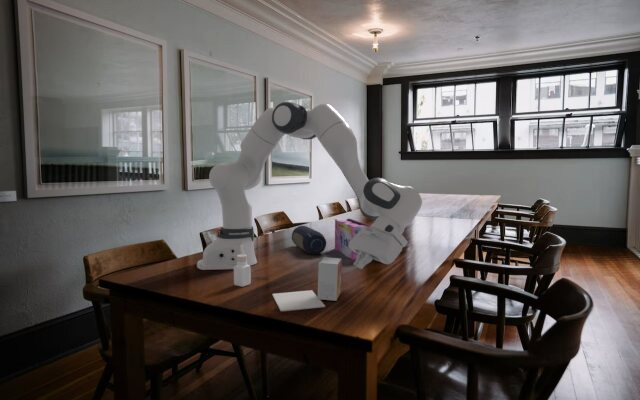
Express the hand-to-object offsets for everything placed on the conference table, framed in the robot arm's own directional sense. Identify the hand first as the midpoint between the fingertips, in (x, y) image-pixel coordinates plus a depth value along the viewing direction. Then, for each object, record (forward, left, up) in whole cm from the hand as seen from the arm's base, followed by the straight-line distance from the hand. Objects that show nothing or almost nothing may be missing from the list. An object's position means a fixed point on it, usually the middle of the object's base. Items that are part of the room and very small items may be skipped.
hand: (357, 266), depth 119 cm
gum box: (+17, +50, -8) cm, 53 cm away
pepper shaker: (-32, +17, -8) cm, 37 cm away
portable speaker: (+1, +62, -8) cm, 62 cm away
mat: (-19, -2, -8) cm, 20 cm away
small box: (-9, -2, -8) cm, 12 cm away
